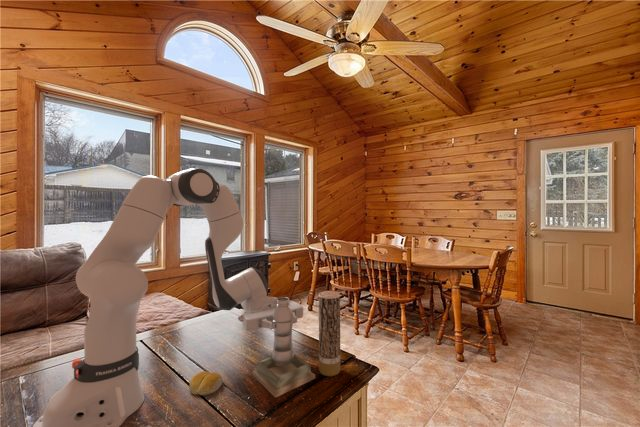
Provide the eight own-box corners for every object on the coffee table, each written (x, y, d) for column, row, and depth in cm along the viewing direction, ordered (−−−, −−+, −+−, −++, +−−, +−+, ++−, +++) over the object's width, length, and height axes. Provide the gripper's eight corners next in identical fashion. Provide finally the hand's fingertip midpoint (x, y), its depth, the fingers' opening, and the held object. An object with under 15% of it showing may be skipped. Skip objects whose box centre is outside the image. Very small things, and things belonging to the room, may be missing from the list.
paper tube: (340, 366, 96) (340, 291, 95) (340, 378, 89) (339, 297, 89) (320, 365, 96) (319, 290, 96) (318, 377, 90) (317, 296, 89)
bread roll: (201, 377, 90) (201, 364, 90) (226, 382, 88) (226, 369, 87) (182, 393, 82) (181, 379, 82) (209, 399, 80) (208, 384, 80)
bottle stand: (275, 397, 80) (275, 382, 80) (252, 375, 91) (252, 362, 91) (315, 378, 89) (315, 364, 89) (289, 360, 100) (289, 348, 100)
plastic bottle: (270, 360, 92) (270, 297, 91) (291, 356, 94) (290, 295, 94) (274, 370, 86) (273, 303, 85) (296, 366, 88) (296, 301, 88)
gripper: (236, 307, 94) (252, 320, 83) (291, 296, 106) (311, 306, 95) (236, 326, 94) (252, 342, 83) (291, 313, 106) (312, 325, 95)
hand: (284, 323), depth 89 cm, fingers closed on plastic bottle, 6 cm apart
